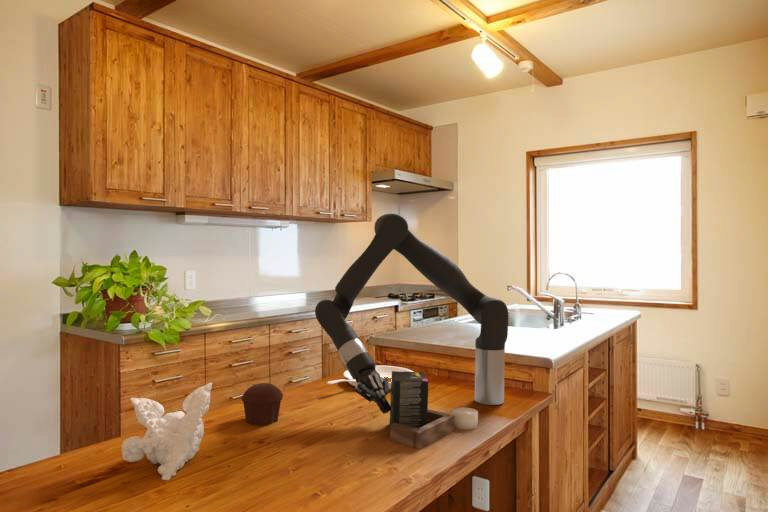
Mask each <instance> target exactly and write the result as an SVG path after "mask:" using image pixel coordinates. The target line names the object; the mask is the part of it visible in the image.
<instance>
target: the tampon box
mask: <svg viewBox="0 0 768 512" xmlns="http://www.w3.org/2000/svg"><path fill="white" fill-rule="evenodd" d="M389 402H390V403H389V405H390V407H391V410H390V411H389V426H390V425H391V424H393V423H398V424H402V425H405V426H409V427H413V428H417V429H418V428H420V427H422V426H425V425H427V410H428V409H429V408H428V406H429V381H428V379H427V376H426V374H425V372H424V371H414V372H398V371H392V379H391V390H390V401H389Z"/></svg>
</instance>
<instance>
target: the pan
mask: <svg viewBox="0 0 768 512" xmlns="http://www.w3.org/2000/svg"><path fill="white" fill-rule="evenodd" d="M375 370H376V371H377V372H378V373H379V375H380V377H382V378H384V377H388V378H392V371H398V372H415V371H413V370H411V369H410V368H409V369H408V368H406V367H402V366H401V367H400V366H393V365H379V364H378V365H377V364H376V366H375ZM343 377H345V379H343V378H342V379H335V380H329V381H326V384H327V385H333V384H338V383H342V382H347V383H348V384H349V385H350V386H352V387H354V388H355V387H356V386H357V382H356V380H355V379H353V378H352V376H351V375H350V373H349V371H348V369H347V370H345V371H344V372H343ZM388 384H389V391H391V382H388Z"/></svg>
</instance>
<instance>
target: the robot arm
mask: <svg viewBox="0 0 768 512" xmlns="http://www.w3.org/2000/svg"><path fill="white" fill-rule="evenodd" d="M407 221H408V220H406V218H405V217H404V216H402V215H400V214H399V213H386V214H383V215H380V216H379V217H378V218H377V219H376V221H375V223H374V227H373V228H374V233H375V235H374V236H373V238H372V240H371V242H370V243H369V245H367V248H365V250H364V251H362V252H363V253H362V254H361V255H359V256H358V258H357V259H356V260H355V261H354V262H353V263H352V264H351V265H350V267H348V269H347V270H346V271H345V273H344V274H343V275H342V277H341V278H340V279H339V281H338V282H337V284H336V285H335V287H334V288H335V289H334V291H335V293H336V294H335V296H334V298H333V300H331V299H322V300H320V301H319V302H318V303H317V304H316V306H315V309H314V314H315V318H316V320H317V322H318V324H319V325H320V326H321V328H322V329H323V330H324V331H325V333H326V334H327V335H328V336H329V337H330V339H331V340H332V342H333V345H334V347H335V348H336V350H337V352H338V354H339V355H340V358H341V360H342V362H343V364H344V366H345V368H346V369H347V370H348V371H349V373H350V375H351V376H352V378H353V379H355V380H356V382H357V386H356V387H354V388H353V391H354V392H355V393H357V394H358V395H359V396H361V397H363V399H365V400H367V401H368V402H369V403H371V402H374V403H376V405H377V407H378V408H379V410H380V411H381V413H382V414H384V415H385V414H387V413H390V410H391V407H390V403H389V402H388V400H387V398H386V397H387V395H389V394H390V393H389V392H390V390H389V384H388V378H387V377H385V378H382V377H380V375H379V373H378V372H377V371H376V370H375V366H377V364H376V362H375V361H374V359H373V358H372V356H371V354H370V352H369V351H368V349H367V348H366V346H365V345H364V343H363V342H362V340H360V337H359V336H358V334H357V332H356V331H355V329H354V328H353V327H352V326H351V325H350V324H349V323H347V321H346V319H347V317H348V316H349V313H350V312H351V309H352V308H353V304H354V301H355V300H356V298H357V297H358V295H359V294H360V293H361V292H362V290H363V289H364V287H365V286H366V285H367V283H368V282H369V281H370V279H371V277H372V276H373V275H374V273H375V272H376V270H377V269H378V268H379V266H380V265H381V264H382V263H383V262H384V260H385V259H386V258H387V257H388V256H389V255H390V254H391V252H392V251H396V252H397V253H398V254H399V255H401V256H402V257H404V258H405V259H406V260H407V261H408V262H409V263H410V264H411V266H413V267H414V269H415V270H417V271H418V272H419V273H420V274H421V275H422V276H424V277H425V278H426V279H427V280H428V281H429V282H431V284H433V285H434V286H435V287H436V288H438V289H439V290H441V291H442V292H443V293H444V294H446V295H447V296H449V297H450V298H451V299H453V300H454V301H456V302H457V303H459V305H460V306H462V308H463V309H464V310H466V312H467V313H468V314H469V315H470V316H472V318H473V319H474V320H475V321H476V322H477V323H479V324H480V334H479V336H478V337H476V338H475V342H474V343H475V347H474V351H475V353H474V354H475V355H474V357H475V358H474V362H475V363H474V401H475V403H478V404H480V405H485V406H499V405H502V404H504V403H505V354H506V351H505V349H506V341H507V340H508V334H509V333H508V331H509V309H508V307H507V306H508V305H506V303H505V301H503V300H502V299H499V298H496V297H495V298H494V297H490V296H489V295H486V294H485V293H483V292H481V290H479V289H478V288H476V286H474V285H473V284H472V283H471V282H470V280H469V279H468V278H467V277H466V275H465V274H464V272H463V271H462V270H461V268H460V267H459V266H458V265H457V264H456V263H455V262H453V261H452V260H451V259H450V258H449V257H447V256H446V255H445V254H443V253H442V252H441V251H439V250H438V249H436V248H435V247H433V246H431V245H429V244H428V243H426V242H424V241H423V240H421V239H420V238H418V237H417V236H416V235H415V234H414V233H412V231H411V230H410V229H409V225H408V222H407Z"/></svg>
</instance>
